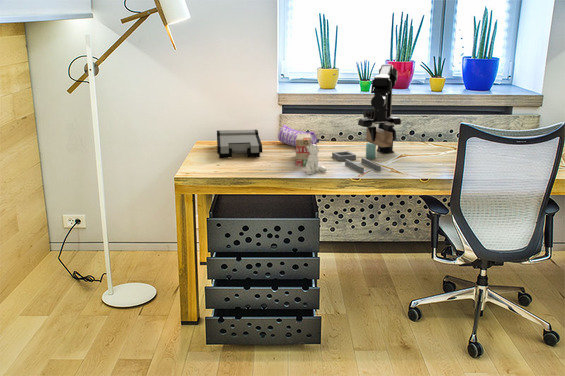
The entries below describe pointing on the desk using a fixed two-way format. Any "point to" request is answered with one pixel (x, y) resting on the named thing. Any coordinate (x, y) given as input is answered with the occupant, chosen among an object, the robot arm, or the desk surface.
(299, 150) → the stack of blocks
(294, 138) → the pencil case
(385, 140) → the block
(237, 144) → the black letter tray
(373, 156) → the nose cylinder
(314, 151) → the sitting furry creature
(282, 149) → the desk surface
